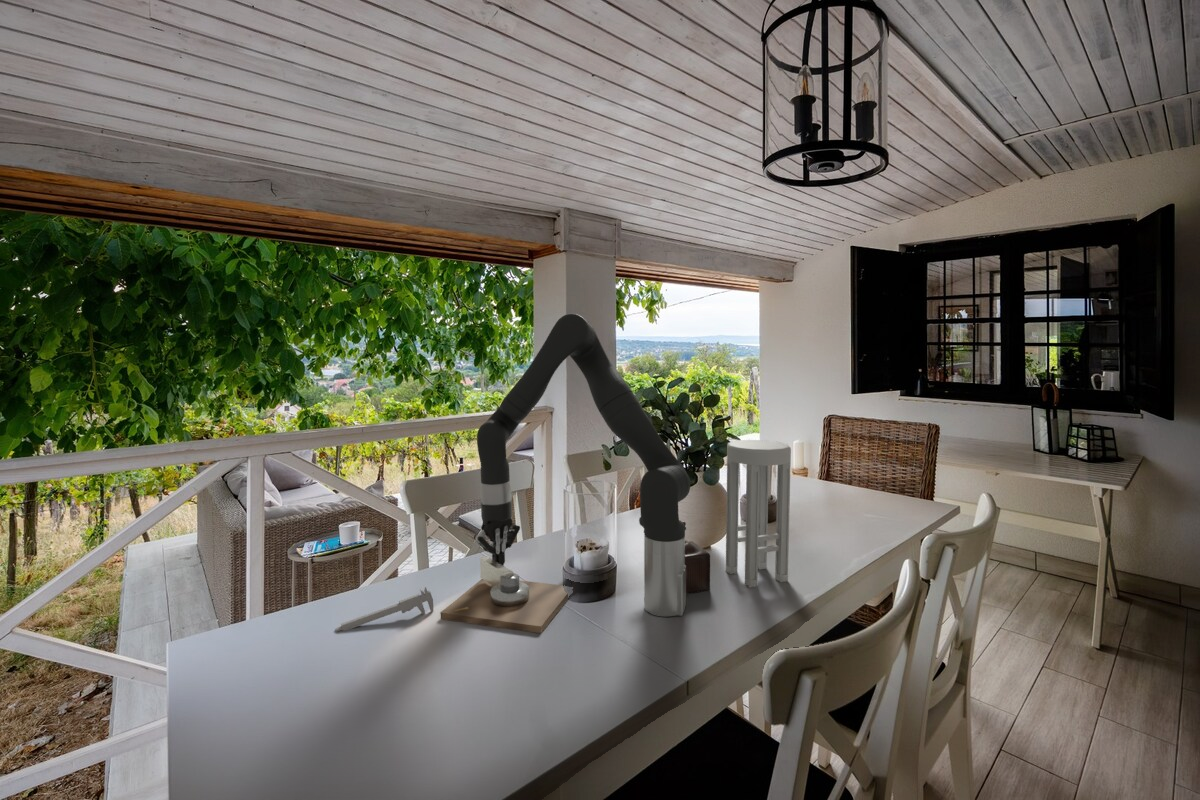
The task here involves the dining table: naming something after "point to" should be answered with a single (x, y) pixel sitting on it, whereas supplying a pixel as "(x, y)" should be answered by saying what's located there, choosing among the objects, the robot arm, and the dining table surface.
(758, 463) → the stool
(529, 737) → the dining table surface
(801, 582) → the dining table surface
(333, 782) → the dining table surface
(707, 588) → the dark brown wooden box
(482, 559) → the beige bar and knob
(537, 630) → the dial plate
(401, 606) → the caliper
